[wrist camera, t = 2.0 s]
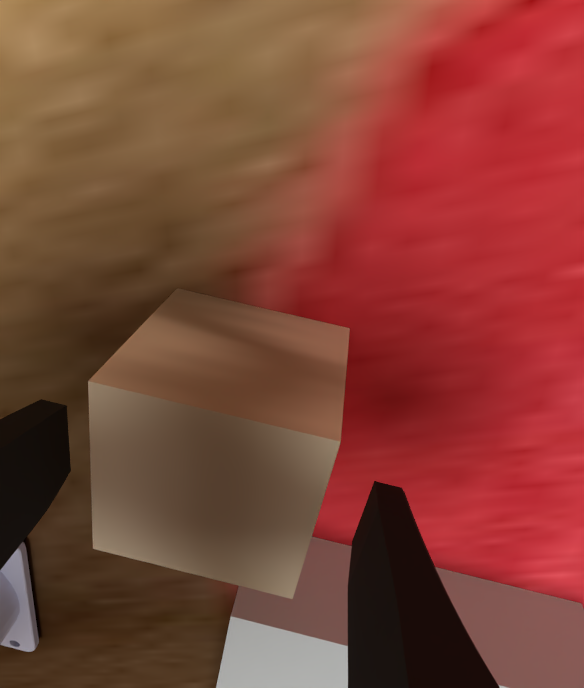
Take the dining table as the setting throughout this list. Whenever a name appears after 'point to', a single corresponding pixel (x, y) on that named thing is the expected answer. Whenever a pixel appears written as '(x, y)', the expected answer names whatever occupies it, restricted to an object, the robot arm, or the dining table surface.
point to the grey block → (332, 630)
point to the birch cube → (217, 440)
